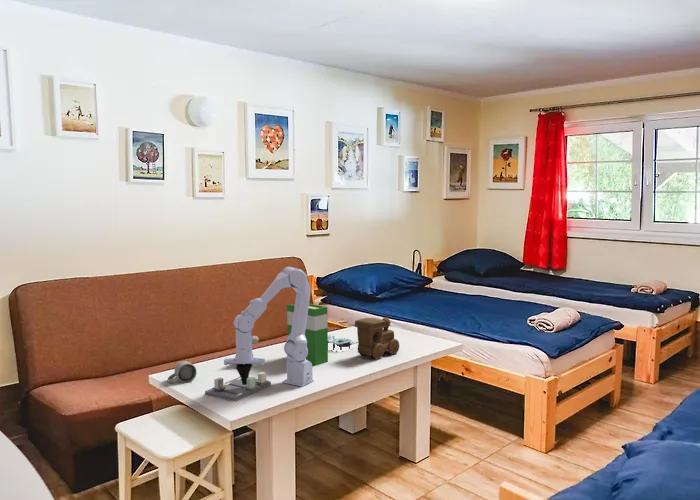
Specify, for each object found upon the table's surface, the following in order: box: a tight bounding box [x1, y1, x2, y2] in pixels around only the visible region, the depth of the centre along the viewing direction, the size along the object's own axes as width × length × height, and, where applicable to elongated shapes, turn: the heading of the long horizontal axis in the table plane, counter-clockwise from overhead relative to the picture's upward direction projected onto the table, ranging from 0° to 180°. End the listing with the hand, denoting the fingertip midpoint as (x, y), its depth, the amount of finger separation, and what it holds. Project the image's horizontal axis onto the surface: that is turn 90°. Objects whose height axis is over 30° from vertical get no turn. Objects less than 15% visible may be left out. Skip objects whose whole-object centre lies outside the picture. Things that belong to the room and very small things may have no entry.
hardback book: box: [286, 303, 329, 367], centre depth 241 cm, size 18×7×24 cm, turn 47°
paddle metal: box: [211, 377, 226, 391], centre depth 201 cm, size 4×3×4 cm
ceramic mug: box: [167, 360, 198, 384], centre depth 215 cm, size 10×8×7 cm
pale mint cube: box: [244, 376, 258, 390], centre depth 201 cm, size 4×3×4 cm
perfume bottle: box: [234, 335, 260, 358], centre depth 236 cm, size 8×10×12 cm
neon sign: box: [328, 334, 354, 350], centre depth 269 cm, size 21×4×29 cm
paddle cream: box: [256, 371, 269, 385], centre depth 207 cm, size 4×3×4 cm
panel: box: [204, 376, 272, 402], centre depth 205 cm, size 14×20×2 cm
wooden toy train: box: [354, 317, 400, 360], centre depth 248 cm, size 20×11×17 cm, turn 135°
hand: (244, 383), depth 203 cm, fingers closed
